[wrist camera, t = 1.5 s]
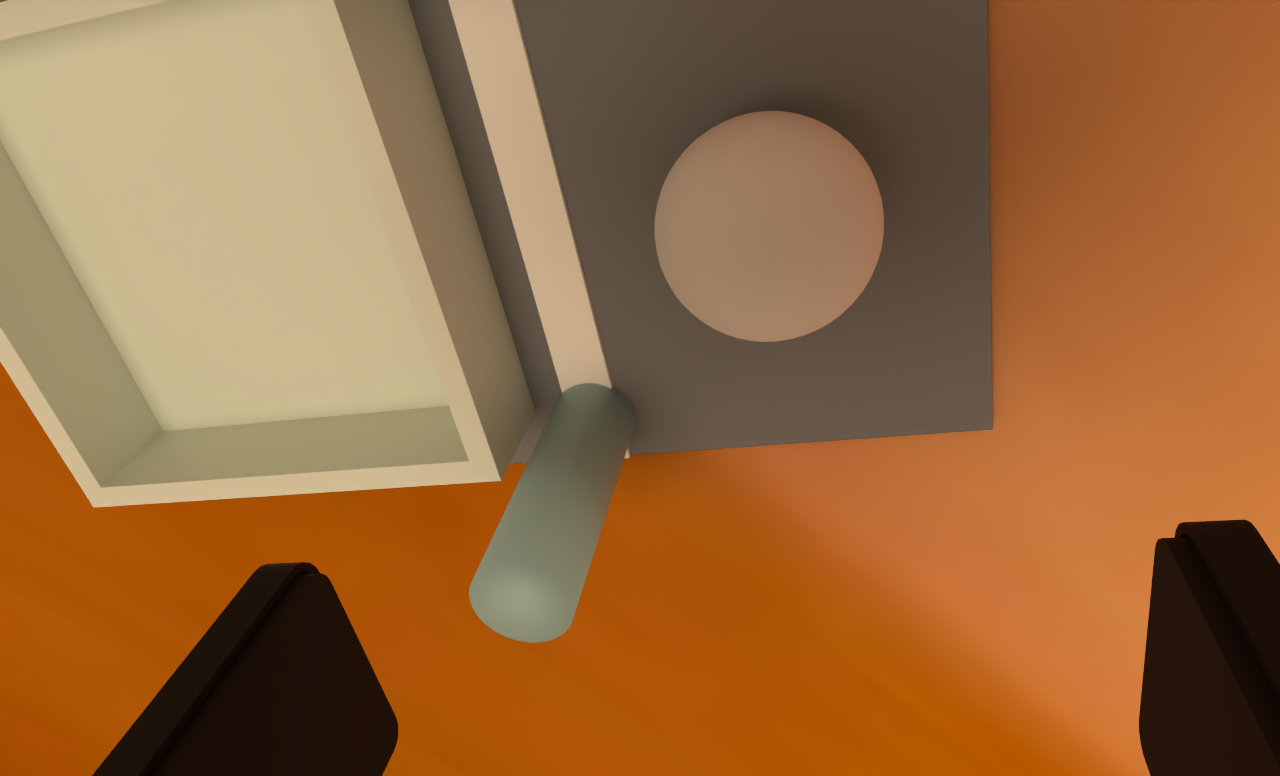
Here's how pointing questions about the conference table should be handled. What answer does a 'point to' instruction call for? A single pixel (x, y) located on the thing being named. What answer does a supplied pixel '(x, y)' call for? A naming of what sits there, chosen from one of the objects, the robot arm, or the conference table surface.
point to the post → (554, 517)
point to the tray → (244, 253)
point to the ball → (769, 226)
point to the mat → (641, 160)
